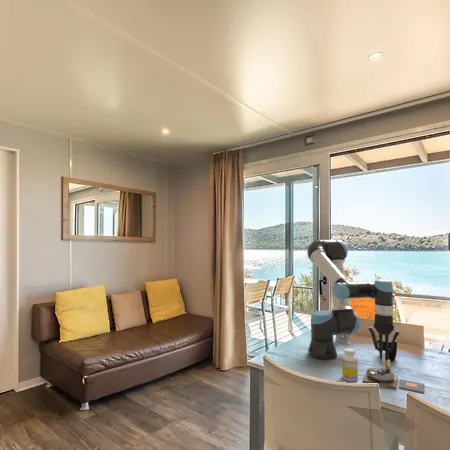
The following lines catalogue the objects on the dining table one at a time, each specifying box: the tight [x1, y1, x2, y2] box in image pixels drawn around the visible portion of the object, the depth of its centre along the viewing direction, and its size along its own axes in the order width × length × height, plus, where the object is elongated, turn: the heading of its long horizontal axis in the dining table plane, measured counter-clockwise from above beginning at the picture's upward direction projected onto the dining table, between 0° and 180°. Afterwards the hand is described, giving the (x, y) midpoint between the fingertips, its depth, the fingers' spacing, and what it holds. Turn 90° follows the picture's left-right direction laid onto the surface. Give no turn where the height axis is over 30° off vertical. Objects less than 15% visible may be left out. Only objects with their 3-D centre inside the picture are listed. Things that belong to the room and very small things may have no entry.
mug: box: [377, 336, 398, 362], centre depth 171 cm, size 12×9×10 cm
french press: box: [333, 334, 351, 346], centre depth 199 cm, size 10×12×25 cm
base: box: [362, 371, 399, 390], centre depth 143 cm, size 13×13×1 cm
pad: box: [398, 378, 425, 394], centre depth 137 cm, size 9×9×1 cm
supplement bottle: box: [341, 347, 359, 382], centre depth 146 cm, size 7×7×13 cm
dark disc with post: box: [366, 359, 395, 382], centre depth 144 cm, size 11×11×7 cm
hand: (384, 366), depth 146 cm, fingers closed
